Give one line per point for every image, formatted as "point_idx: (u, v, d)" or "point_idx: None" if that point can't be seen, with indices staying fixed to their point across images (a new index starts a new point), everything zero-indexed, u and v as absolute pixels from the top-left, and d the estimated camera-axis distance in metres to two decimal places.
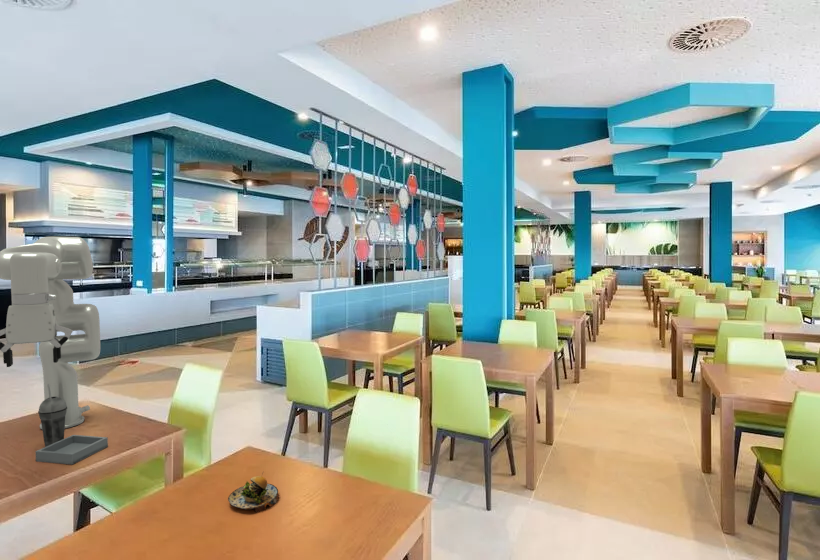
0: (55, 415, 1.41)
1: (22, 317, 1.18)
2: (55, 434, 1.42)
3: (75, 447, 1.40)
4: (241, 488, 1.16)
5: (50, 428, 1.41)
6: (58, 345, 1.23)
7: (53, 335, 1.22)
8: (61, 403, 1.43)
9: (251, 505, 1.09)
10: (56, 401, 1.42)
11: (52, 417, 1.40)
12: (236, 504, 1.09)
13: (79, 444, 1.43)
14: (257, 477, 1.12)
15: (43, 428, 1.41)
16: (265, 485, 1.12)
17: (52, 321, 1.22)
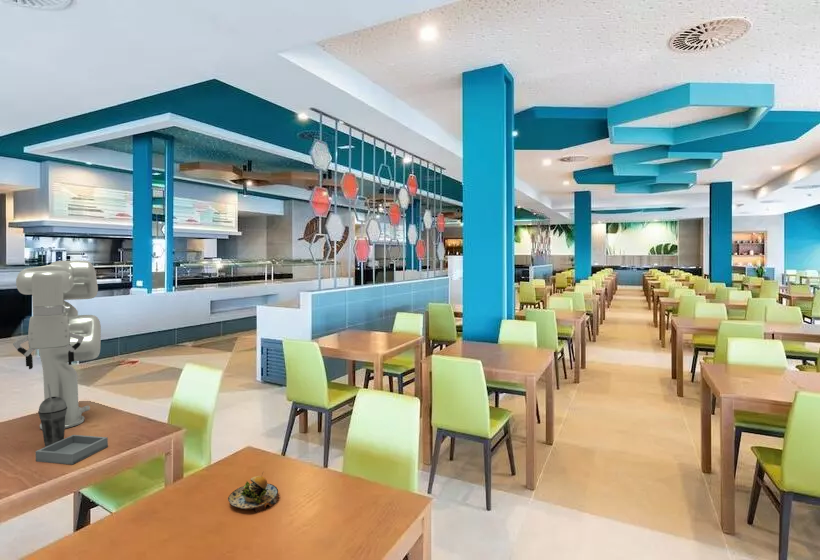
0: (55, 415, 1.41)
1: (43, 326, 1.39)
2: (55, 434, 1.42)
3: (75, 447, 1.40)
4: (241, 488, 1.16)
5: (50, 428, 1.41)
6: (72, 350, 1.44)
7: (68, 341, 1.43)
8: (61, 403, 1.43)
9: (251, 505, 1.09)
10: (56, 401, 1.42)
11: (52, 417, 1.40)
12: (236, 504, 1.09)
13: (79, 444, 1.43)
14: (257, 477, 1.12)
15: (43, 428, 1.41)
16: (265, 485, 1.12)
17: (67, 329, 1.43)
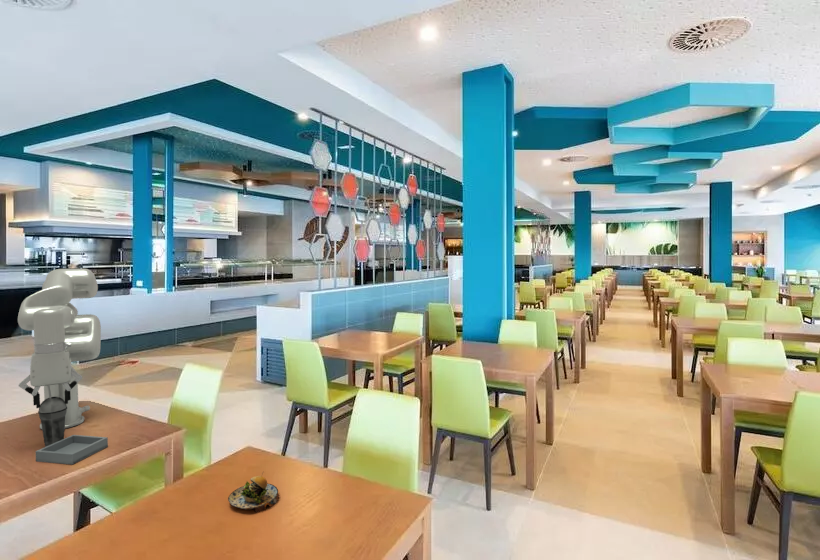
0: (55, 415, 1.41)
1: (44, 364, 1.39)
2: (55, 434, 1.42)
3: (75, 447, 1.40)
4: (241, 488, 1.16)
5: (50, 428, 1.41)
6: (69, 389, 1.44)
7: (70, 377, 1.44)
8: (61, 403, 1.43)
9: (251, 505, 1.09)
10: (56, 401, 1.42)
11: (52, 417, 1.40)
12: (236, 504, 1.09)
13: (79, 444, 1.43)
14: (257, 477, 1.12)
15: (43, 428, 1.41)
16: (265, 485, 1.12)
17: (69, 365, 1.43)
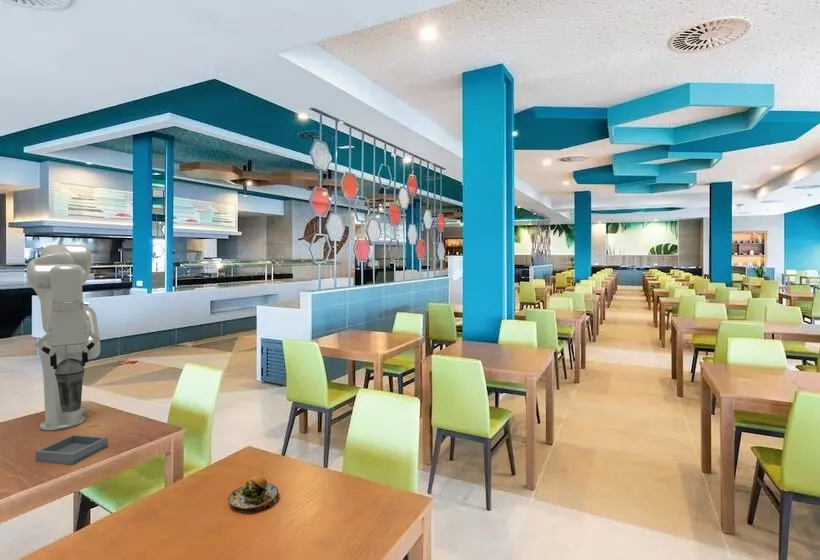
0: (72, 377, 1.34)
1: (62, 323, 1.33)
2: (72, 397, 1.35)
3: (75, 447, 1.40)
4: (241, 488, 1.16)
5: (67, 391, 1.34)
6: (86, 350, 1.38)
7: (88, 338, 1.37)
8: (78, 365, 1.36)
9: (251, 505, 1.09)
10: (74, 363, 1.35)
11: (69, 378, 1.34)
12: (236, 504, 1.09)
13: (79, 444, 1.43)
14: (257, 477, 1.12)
15: (60, 391, 1.34)
16: (265, 485, 1.12)
17: (87, 326, 1.37)
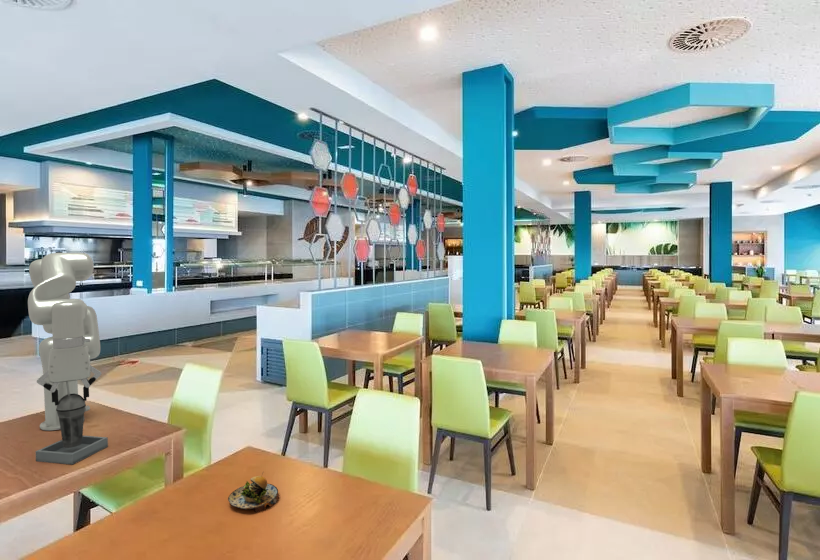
0: (74, 413, 1.35)
1: (63, 359, 1.34)
2: (74, 433, 1.36)
3: (75, 447, 1.40)
4: (241, 488, 1.16)
5: (69, 426, 1.35)
6: (87, 385, 1.38)
7: (89, 373, 1.38)
8: (80, 400, 1.37)
9: (251, 505, 1.09)
10: (75, 398, 1.36)
11: (71, 414, 1.34)
12: (236, 504, 1.09)
13: None
14: (257, 477, 1.12)
15: (61, 426, 1.35)
16: (265, 485, 1.12)
17: (88, 361, 1.38)
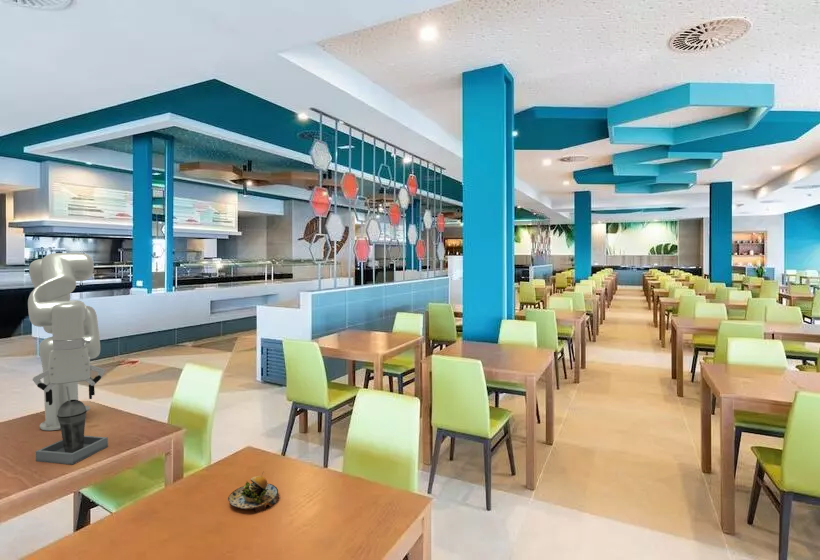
0: (75, 419, 1.35)
1: (63, 361, 1.34)
2: (75, 439, 1.36)
3: None
4: (241, 488, 1.16)
5: (70, 432, 1.35)
6: (93, 383, 1.39)
7: (89, 375, 1.38)
8: (80, 406, 1.37)
9: (251, 505, 1.09)
10: (76, 404, 1.36)
11: (71, 421, 1.35)
12: (236, 504, 1.09)
13: None
14: (257, 477, 1.12)
15: (62, 432, 1.35)
16: (265, 485, 1.12)
17: (88, 362, 1.38)
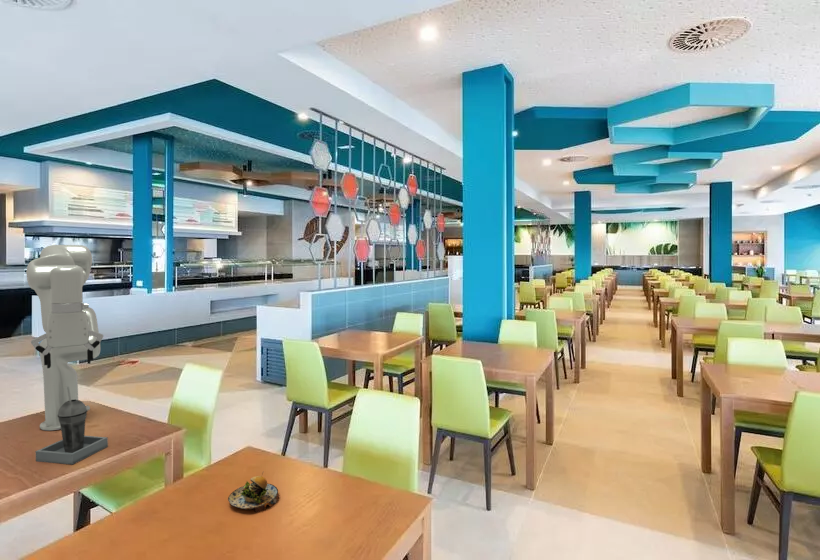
0: (75, 419, 1.35)
1: (62, 324, 1.33)
2: (75, 439, 1.36)
3: None
4: (241, 488, 1.16)
5: (70, 432, 1.35)
6: (91, 348, 1.39)
7: (88, 339, 1.37)
8: (81, 406, 1.37)
9: (251, 505, 1.09)
10: (76, 404, 1.36)
11: (72, 420, 1.35)
12: (236, 504, 1.09)
13: None
14: (257, 477, 1.12)
15: (63, 432, 1.35)
16: (265, 485, 1.12)
17: (87, 327, 1.37)
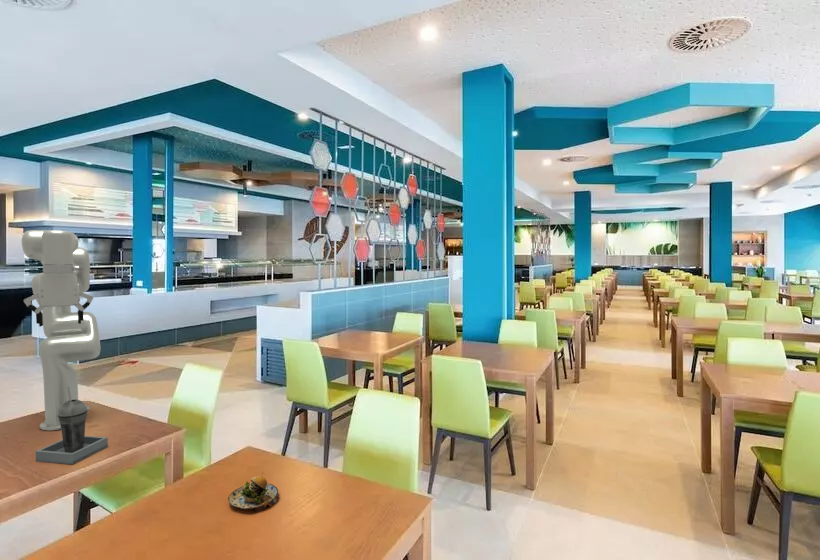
0: (75, 419, 1.35)
1: (53, 284, 1.40)
2: (75, 439, 1.36)
3: None
4: (241, 488, 1.16)
5: (70, 432, 1.35)
6: (82, 309, 1.45)
7: (78, 300, 1.44)
8: (81, 406, 1.37)
9: (251, 505, 1.09)
10: (76, 404, 1.36)
11: (72, 420, 1.35)
12: (236, 504, 1.09)
13: None
14: (257, 477, 1.12)
15: (63, 432, 1.35)
16: (265, 485, 1.12)
17: (77, 288, 1.44)
